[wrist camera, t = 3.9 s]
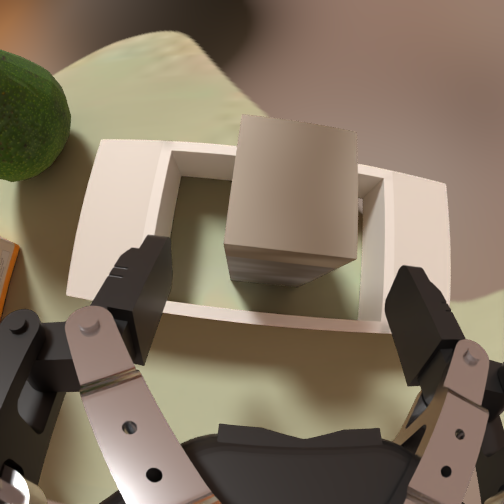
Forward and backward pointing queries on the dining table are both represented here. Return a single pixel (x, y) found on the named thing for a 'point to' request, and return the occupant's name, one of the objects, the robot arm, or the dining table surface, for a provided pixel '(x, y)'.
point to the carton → (221, 167)
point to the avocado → (29, 118)
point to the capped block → (291, 202)
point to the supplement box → (6, 266)
